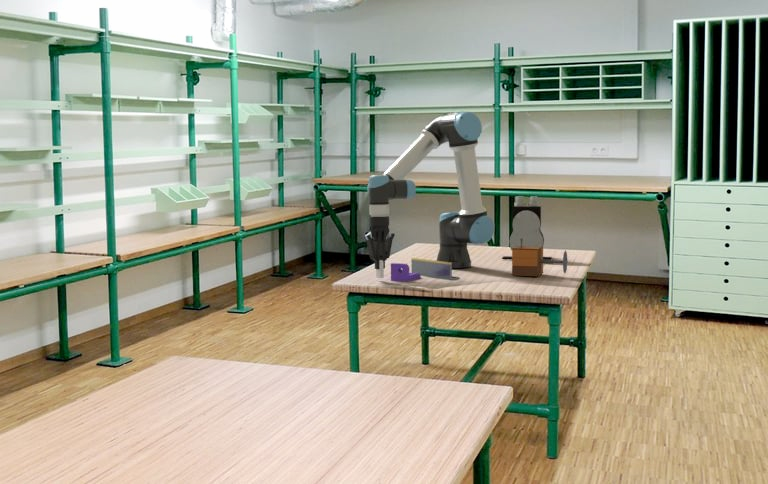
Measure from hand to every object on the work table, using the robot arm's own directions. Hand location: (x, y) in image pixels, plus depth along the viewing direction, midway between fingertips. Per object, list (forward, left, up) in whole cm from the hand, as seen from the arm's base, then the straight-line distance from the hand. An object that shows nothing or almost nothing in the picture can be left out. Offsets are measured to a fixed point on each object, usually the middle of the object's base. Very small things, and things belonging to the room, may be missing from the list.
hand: (380, 277), depth 327 cm
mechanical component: (-91, -13, -2) cm, 92 cm away
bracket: (-11, +2, -2) cm, 11 cm away
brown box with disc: (-61, +25, -2) cm, 66 cm away
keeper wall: (-22, +3, -1) cm, 23 cm away
